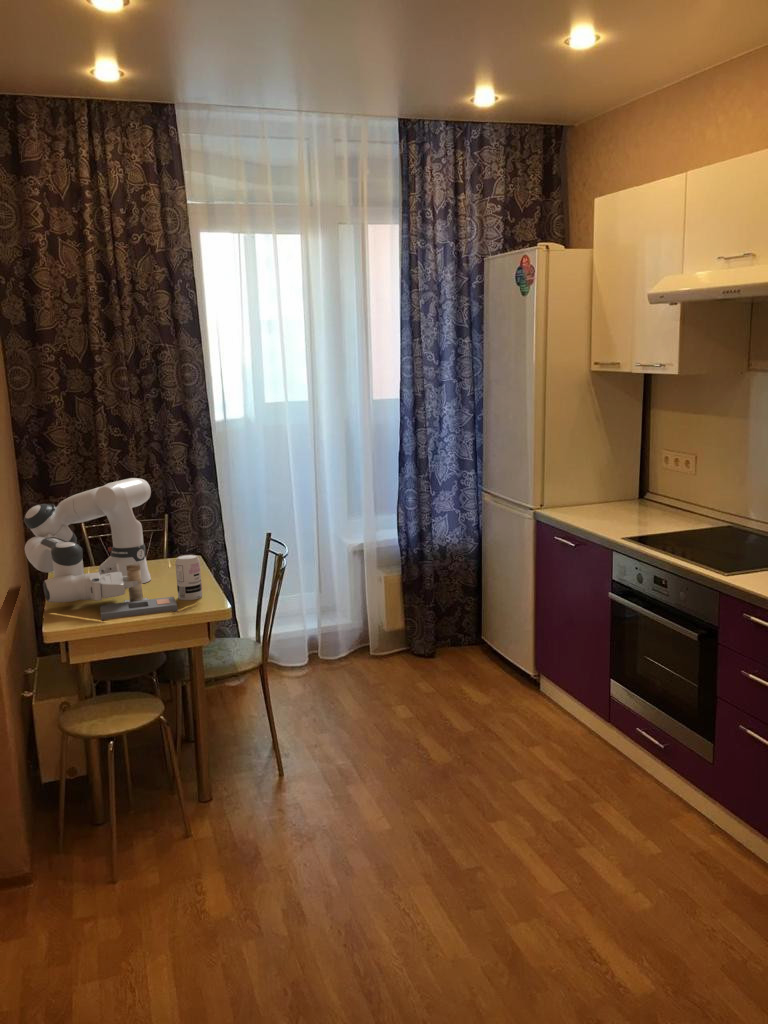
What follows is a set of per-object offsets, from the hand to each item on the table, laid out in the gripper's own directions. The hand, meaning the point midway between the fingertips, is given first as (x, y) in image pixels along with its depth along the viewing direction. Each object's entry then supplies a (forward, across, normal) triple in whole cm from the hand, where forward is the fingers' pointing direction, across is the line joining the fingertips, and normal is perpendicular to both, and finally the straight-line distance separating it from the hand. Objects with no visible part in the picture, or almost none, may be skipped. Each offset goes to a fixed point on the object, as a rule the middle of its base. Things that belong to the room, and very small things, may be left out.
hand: (137, 580), depth 289 cm
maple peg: (-1, 0, -7) cm, 7 cm away
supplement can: (+17, +2, -8) cm, 19 cm away
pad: (-1, 0, -8) cm, 8 cm away
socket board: (-1, +11, -8) cm, 14 cm away
